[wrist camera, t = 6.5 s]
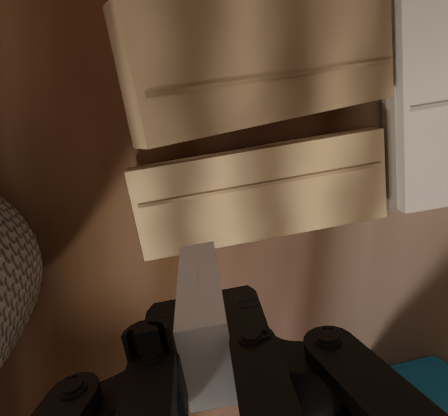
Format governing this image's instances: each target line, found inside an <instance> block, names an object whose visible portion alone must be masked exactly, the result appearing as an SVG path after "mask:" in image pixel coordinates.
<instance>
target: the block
mask: <svg viewBox="0 0 448 416" xmlns="http://www.w3.org/2000/svg"><path fill="white" fill-rule="evenodd" d="M390 367H392V368H393V369H394V370H395V371H396V372H398V373H399V374H400V375H401V376H402V377H404V378H405V379H406V380H407V381H408V382H410V383H411V384H412V385H413V386H414V387H416V388H417V389H418V390H419V391H421V392H422V393H423V394H424V395H425V396H427V397H428V398H429V399H430V400H431V401H433V402H434V403H435V404H436V405H437V406H439V407H440V408H441V409H442V410H443V411H445V412H446V413H447V414H448V364H447V363H446V362H444V361H443V360H441V359H440V358H438V357H436V356H428V357H424V358H420V359H415V360H411V361H407V362H403V363H399V364H394V365H390Z"/></svg>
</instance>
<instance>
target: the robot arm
mask: <svg viewBox="0 0 448 416" xmlns="http://www.w3.org/2000/svg"><path fill="white" fill-rule="evenodd" d="M121 338H122V342H123V346H124V350H125V354H126V357H127V361H128V363H127V367H126V370H124V371H123V372H121V373H120V374H118V375H115V376H113V377H111V378H109V379H106V380H104V381H101V382H99V378H98V376H97V375H95V374H94V373H90V372H82V373H76V374H73V375H71V376H68V377H66V378H65V379H63V380H62V381H60V382H58V383H57V384H56V385H55V386H54V387H53V388H52V389H51V390H50V391H49V393H48V394H47V395H46V396H45V398H44V399H43V400H42V401H41V403H40V404H39V405H38V407H37V408H36V409H35V410H34V412H33V413H32V414H31V416H188V403H189V408H190V413H195V412H200V411H205V410H210V409H215V408H221V407H226V406H231V405H236V404H238V407H239V414H240V416H448V414H447V413H446V412H445V411H443V410H442V409H441V408H440V407H439V406H437V405H436V404H435V403H434V402H433V401H431V400H430V399H429V398H428V397H427V396H425V395H424V394H423V393H422V392H421V391H419V390H418V389H417V388H416V387H414V386H413V385H412V384H411V383H410V382H408V381H407V380H406V379H405V378H404V377H402V376H401V375H400V374H399V373H398V372H396V371H395V370H394V369H393V368H392V367H390V366H389V365H388V364H387V363H386V362H384V361H383V360H382V359H381V358H380V357H378V356H377V355H376V354H375V353H374V352H372V351H371V350H370V349H369V348H368V347H366V346H365V345H364V344H363V343H362V342H360V341H359V340H358V339H357V338H356V337H354V336H353V335H352V334H351V333H350V332H348V331H346V330H344V329H343V328H339V327H335V326H321V327H316V328H313V329H312V330H310V331H308V332H307V333H306V335H305V336H304V341H288V340H284V339H280V338H278V337H276V336H275V334H274V333H273V331H272V330H271V329H269V327H268V324H267V321H266V318H265V315H264V313H263V310H262V307H261V304H260V301H259V298H258V296H257V293H256V291H255V290H254V289H253V288H251V287H250V286H248V285H246V286H241V287H235V288H230V289H224V290H222V288H221V282H220V276H219V270H218V265H217V259H216V253H215V247H214V241H212V242H206V243H200V244H194V245H189V246H183V247H180V253H179V265H178V277H177V290H176V299H175V300H169V301H164V302H158V303H154V304H153V305H152V306H151V307H150V308H149V310H148V311H147V313H146V317H145V320H142V321H139V322H137V323H135V324H133V325H131V326H130V327H128V328H127V329H126V330H125V331H124V332H123V334H122V336H121Z"/></svg>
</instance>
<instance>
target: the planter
mask: <svg viewBox="0 0 448 416" xmlns="http://www.w3.org/2000/svg"><path fill="white" fill-rule="evenodd" d="M42 276H43V264H42V257H41V251H40V248H39V245H38V241H37V239H36V237H35V235H34V233H33V231H32V229H31V227H30V226H29V224H28V223H27V221H26V220H25V218H24V217H23V216H22V215H21V214H20V213H19V212H18V210H17V209H16V208H15V207H14V206H13V205H12V204H10V203H9V202H8V201H7V200H5V199H4V198H3V197H2V196H0V369H1V367H2V365H3V364H4V362H5V361H6V359H7V357H8V356H9V354H10V353H11V351H12V350H13V348H14V346H15V345H16V343H17V341H18V339H19V337H20V336H21V334H22V332H23V330H24V328H25V327H26V325H27V323H28V321H29V319H30V316H31V314H32V312H33V310H34V307H35V305H36V303H37V300H38V297H39V293H40V289H41V284H42Z"/></svg>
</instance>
